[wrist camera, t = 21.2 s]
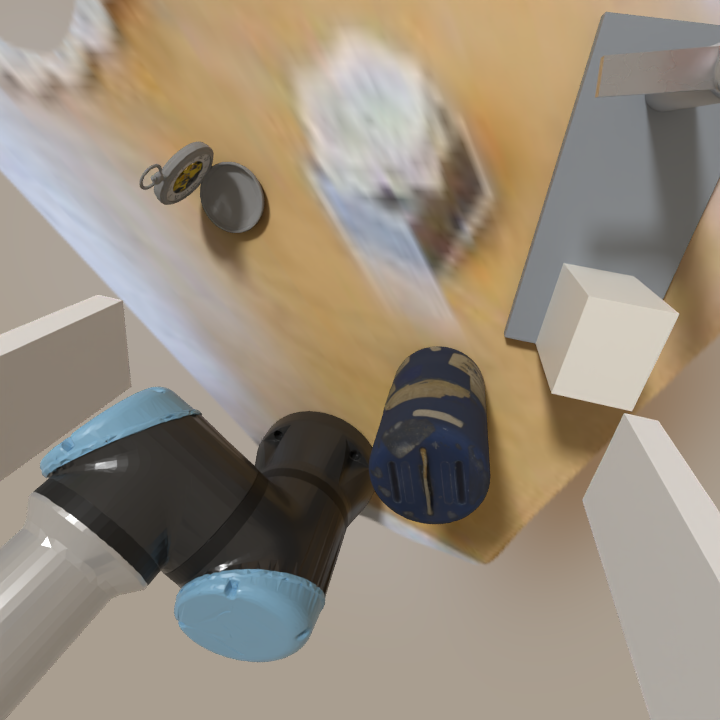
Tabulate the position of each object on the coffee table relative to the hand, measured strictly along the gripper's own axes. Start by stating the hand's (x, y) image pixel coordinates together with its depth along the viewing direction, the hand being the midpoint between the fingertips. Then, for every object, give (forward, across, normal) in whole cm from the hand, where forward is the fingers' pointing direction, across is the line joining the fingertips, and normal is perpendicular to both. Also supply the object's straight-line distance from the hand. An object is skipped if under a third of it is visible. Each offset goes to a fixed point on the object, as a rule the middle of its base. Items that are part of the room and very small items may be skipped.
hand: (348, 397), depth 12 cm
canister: (+35, +4, -17) cm, 39 cm away
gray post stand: (+35, +15, +3) cm, 38 cm away
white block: (+34, +15, -6) cm, 37 cm away
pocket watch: (+35, -21, -1) cm, 41 cm away
